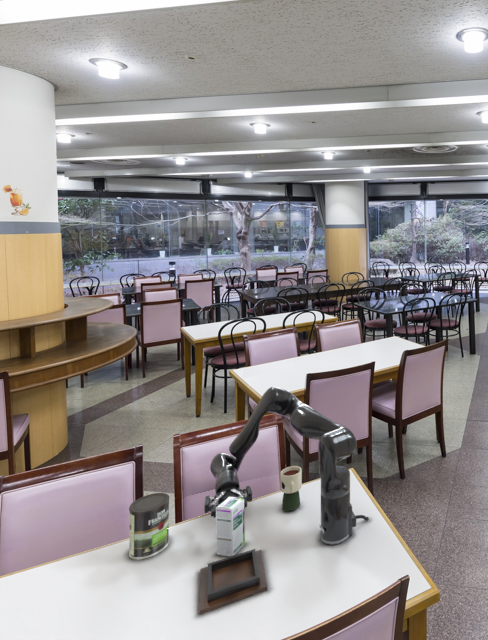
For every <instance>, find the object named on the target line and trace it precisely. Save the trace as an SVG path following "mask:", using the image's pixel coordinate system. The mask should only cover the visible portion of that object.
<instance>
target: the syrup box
mask: <svg viewBox="0 0 488 640" xmlns="http://www.w3.org/2000/svg"><path fill="white" fill-rule="evenodd" d="M215 526H216V527H215V535H216V537H215V539H216V541H215V543H216V544H215V545H216V555H217V556H223V557H231V556H234V555H237V554H238V552H239V551H240V550H241V549H242V548H243V547H244V546H245V544H246V534H245V533H246V531H245V529H246V528H245V509H244V499H243V498H239V497H228V498H227V499H226V500H225V501H224V502H222V503H221V504H220V505H219V506H217V507H216V517H215Z"/></svg>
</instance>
